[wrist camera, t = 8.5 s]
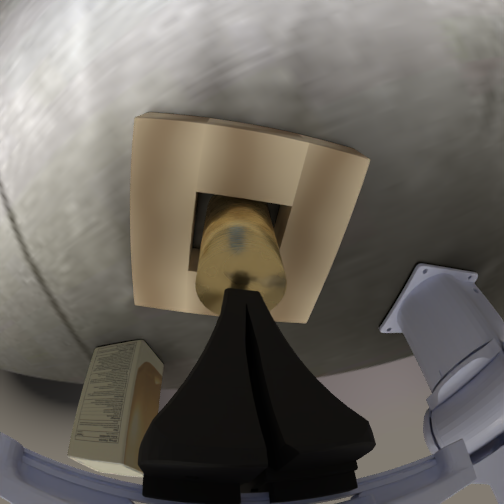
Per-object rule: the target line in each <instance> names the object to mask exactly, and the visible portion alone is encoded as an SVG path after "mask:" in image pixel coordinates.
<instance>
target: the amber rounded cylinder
mask: <svg viewBox="0 0 504 504" xmlns="http://www.w3.org/2000/svg"><path fill="white" fill-rule="evenodd" d="M195 288H196V293H197V296H198V298H199V300H200V301H201V302H202V304H203V305H204V306H205V307H206V308H207V309H209V310H210V311H212V312H213V313H215V314H217V315H220V313H221V307H222V302H223V296H224V290H225V289H227V288H234V289H243V290H252V291H259V292H260V294H261V296H262V298H263V300H264V302H265V304H266V306H267V308H268V310H269V311H270V310H272V309H273V308H274V307H276V306H277V305H278V304H279V302H280V301H281V300H282V298H283V296H284V294H285V292H286V288H287V279H286V275H285V271H284V267H283V263H282V259H281V255H280V251H279V247H278V244H277V240H276V236H275V232H274V229H273V225H272V221H271V217H270V214H269V210H268V206H267V203H266V202H263V201H257V200H250V199H244V198H237V197H230V196H223V195H216V194H214V195H213V196H212V198H211V199H210V201H209V203H208V206H207V212H206V218H205V223H204V230H203V236H202V242H201V248H200V255H199V261H198V268H197V275H196V282H195Z"/></svg>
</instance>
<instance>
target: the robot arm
mask: <svg viewBox="0 0 504 504" xmlns="http://www.w3.org/2000/svg"><path fill="white" fill-rule="evenodd" d="M477 278H478V274H477V273H476V272H471V271H465V270H459V269H453V268H447V267H441V266H435V265H429V264H423V263H420V264H418V265H417V266H416V267H415V269H414V271H413V273H412V274H411V276H410V278H409V280H408V282H407V283H406V285H405V287H404V289H403V290H402V292H401V294H400V296H399V297H398V299H397V301H396V302H395V304H394V306H393V307H392V309H391V310H390V312H389V314H388V315H387V317H386V318H385V320H384V321H383V323H382V325H381V326H380V328H379V330H380V332H381V333H403V334H404V336H405V338H406V340H407V342H408V344H409V346H410V348H411V350H412V352H413V354H414V356H415V358H416V360H417V362H418V364H419V366H420V368H421V370H422V373H423V374H424V377H425V379H426V381H427V383H428V386H429V387H430V390H431V392H432V394H431V395H430V396H429V397H428V398H427V399H426V401H427V403H428V405H429V409H428V410H427V411H426V413H425V416H424V425H423V433H424V438H425V442H426V444H427V447H428V449H429V451H430V452H431V454H432V455H430V456H428V457H425V458H422V459H420V460H417V461H415V462H412V463H409V464H406V465H404V466H401V467H397V468H395V469H392V470H388V471H385V472H381V473H378V474H374V475H370V476H367V477H363V478H359V479H356V477H355V472H354V470H357V468H358V466H357V462H356V460H358V459H359V458H361V457H363V456H364V455H366V454H367V453H369V452H370V451H371V450H373V448H374V447H375V445H376V443H375V440H374V436H373V432H372V430H371V427H370V425H369V422H368V421H367V420H366V419H364V418H363V417H362V416H360V415H359V414H357V413H356V412H354V411H353V410H352V409H350V408H349V407H347V406H346V405H345V404H344V403H343V402H341V401H340V400H339V399H338V398H336V397H335V396H334V395H333V394H332V393H331V392H330V391H329V390H328V389H327V388H326V387H324V385H323V384H321V383H320V382H319V381H318V380H317V379H316V377H315V376H314V375H313V374H312V373H311V372H310V371H309V370H308V369H307V367H306V366H305V365H304V364H303V362H302V361H301V360H300V359H299V357H298V356H297V355H296V353H295V352H294V351H293V349H292V348H291V346H290V345H289V344H288V342H287V341H286V339H285V337H284V336H283V334H282V333H281V331H280V329H279V328H278V326H277V324H276V323H275V321H274V319H273V317H272V316H271V314H270V312H269V310H268V308H267V306H266V304H265V302H264V300H263V298H262V296H261V294H260V292H259V291H252V290H243V289H234V288H227V289H225V290H224V296H223V302H222V307H221V313H220V315H219V318H218V321H217V324H216V326H215V328H214V331H213V333H212V335H211V337H210V339H209V341H208V343H207V345H206V347H205V349H204V351H203V353H202V355H201V356H200V358H199V360H198V361H197V363H196V365H195V366H194V368H193V369H192V371H191V372H190V374H189V375H188V377H187V378H186V380H185V381H184V383H183V384H182V385H181V387H180V388H179V389H178V390H177V392H176V393H175V394H174V396H173V397H172V398H171V399H170V401H169V402H168V403H167V404H166V405H165V406H164V408H163V409H162V410H161V411H160V412H159V413H158V414H157V415H156V416H155V417H154V419H153V420H152V422H151V424H150V425H149V427H148V429H147V431H146V433H145V435H144V437H143V439H142V441H141V444H140V447H139V453H138V466H139V468H140V469H141V470H142V472H143V473H144V475H143V485H140V484H135V483H130V482H125V481H120V480H116V479H112V478H108V477H105V476H101V475H97V474H94V473H90V472H87V471H84V470H80V469H77V468H74V467H71V466H68V465H66V464H63V463H60V462H57V461H55V460H52V459H50V458H47V457H45V456H42V455H40V454H38V453H35V452H33V451H30V450H28V449H26V448H24V447H23V446H22V445H21V444H20V443H19V442H17V441H16V440H14V439H12V438H11V437H9V436H7V435H5V434H3V433H1V432H0V497H1V498H3V499H5V500H6V501H8V502H10V503H11V504H135V503H133V502H132V501H136V502H141V503H147V504H316V503H321V502H327V501H332V500H336V499H341V498H345V497H350V496H352V497H351V499H350V500H348V501H344V502H341V503H337V504H441V503H442V502H444V501H445V500H446V499H448V498H450V497H451V496H453V495H454V494H456V493H457V492H459V491H460V490H462V489H463V488H465V487H466V486H468V485H469V484H471V483H473V484H488V485H490V487H491V488H492V490H493V493H494V495H495V497H496V499H497V502H498V504H504V322H503V320H502V318H501V317H500V315H499V314H498V313H497V311H496V310H495V309H494V307H493V306H492V305H491V303H490V302H489V301H488V300H487V298H486V297H485V296H484V294H483V293H482V292H481V291H480V290H479V288H478V287H477V286H476V285H475V281H476V280H477Z"/></svg>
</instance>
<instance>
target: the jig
mask: <svg viewBox="0 0 504 504" xmlns="http://www.w3.org/2000/svg"><path fill="white" fill-rule="evenodd" d="M369 163H370V159H369V158H367V157H365V156H364V155H362V154H361V153H359V152H358V151H356V150H355V149H353V148H350V147H347V146H343V145H340V144H336V143H332V142H329V141H325V140H321V139H317V138H313V137H309V136H305V135H301V134H296V133H292V132H288V131H283V130H278V129H273V128H268V127H263V126H258V125H252V124H247V123H241V122H235V121H228V120H221V119H214V118H207V117H199V116H190V115H180V114H169V113H156V112H147V113H145V114H142V115H140V116H137V117H135V120H134V131H133V143H132V159H131V183H130V237H131V261H132V277H133V290H134V301H135V305H139V306H145V307H152V308H159V309H166V310H173V311H180V312H188V313H196V314H204V315H213V316H219V315H217V314H215V313H213V312H212V311H210V310H209V309H207V308H206V307H205V306H204V305H203V304H202V302H201V301H200V300H199V298H198V296H197V293H196V288H195V282H196V275H197V268H198V261H199V255H200V249H196V248H192V247H193V237H194V228H195V219H196V211H197V202H198V194H199V192H202V193H209V194H216V195H223V196H230V197H237V198H244V199H250V200H257V201H263V202H269V203H275V204H280V208H279V211H278V215H277V219H276V223H275V227H274V232H275V236H276V240H277V244H278V247H279V251H280V255H281V259H282V263H283V267H284V271H285V275H286V279H287V288H286V292H285V294H284V296H283V298H282V300H281V301H280V302H279V304H278V305H277V306H276V307H274V308H273V309H272V310H270V311H269V312H270V314H271V316H272V317H273V319H274V321H278V322H293V323H307V321H308V318H309V316H310V314H311V312H312V310H313V307H314V305H315V303H316V301H317V298H318V296H319V294H320V292H321V289H322V287H323V285H324V282H325V280H326V278H327V275H328V273H329V271H330V268H331V266H332V263H333V261H334V258H335V256H336V253H337V251H338V249H339V246H340V243H341V241H342V238H343V236H344V233H345V231H346V228H347V225H348V223H349V220H350V217H351V215H352V212H353V209H354V206H355V204H356V201H357V198H358V195H359V192H360V190H361V187H362V184H363V181H364V178H365V175H366V172H367V169H368V166H369Z"/></svg>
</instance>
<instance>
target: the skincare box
mask: <svg viewBox="0 0 504 504" xmlns="http://www.w3.org/2000/svg"><path fill="white" fill-rule="evenodd" d="M163 367H164V365H163V363H162V362H161V361H160V359H159V358H158V357H157V356H156V354H155V353H154V352H153V351H152V350H151V348H150V347H149V346H148V345H147V344H146V342H145V341H144V340H135V341H129V342H124V343H119V344H113V345H108V346H103V347H98V348H95V350H94V353H93V357H92V360H91V363H90V366H89V369H88V373H87V376H86V379H85V383H84V386H83V390H82V394H81V398H80V401H79V405H78V409H77V413H76V417H75V421H74V426H73V430H72V434H71V439H70V444H69V449H68V454H67V456H68V457H69V458H71V459H73V460H75V461H77V462H79V463H81V464H83V465H85V466H87V467H89V468H91V469H93V470H96V471H98V472H101V473H109V474H115V475H123V476H133V477H143V475H144V473H143V472H142V470H141V469H140V468H139V466H138V453H139V447H140V444H141V441H142V439H143V437H144V435H145V433H146V431H147V429H148V427H149V425H150V424H151V422H152V420H153V419H154V417H155V416H156V415H157V414H158V408H159V399H160V390H161V382H162V375H163Z"/></svg>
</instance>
